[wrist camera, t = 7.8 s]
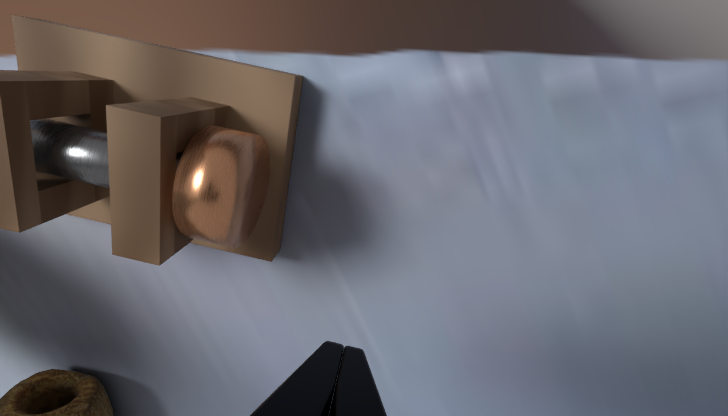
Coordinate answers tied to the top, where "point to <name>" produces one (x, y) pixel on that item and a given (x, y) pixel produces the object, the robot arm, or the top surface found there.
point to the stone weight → (57, 396)
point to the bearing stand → (135, 132)
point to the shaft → (192, 180)
